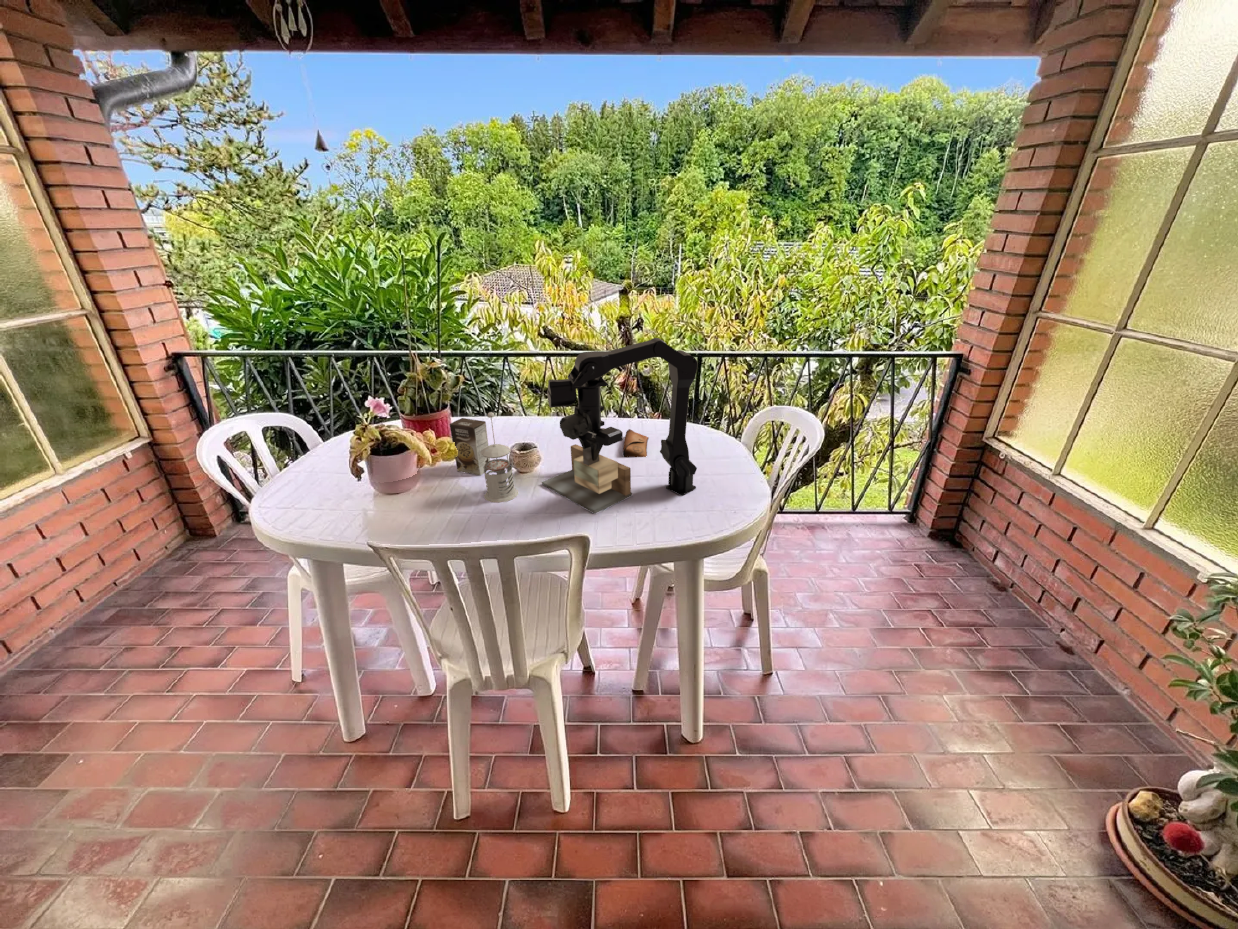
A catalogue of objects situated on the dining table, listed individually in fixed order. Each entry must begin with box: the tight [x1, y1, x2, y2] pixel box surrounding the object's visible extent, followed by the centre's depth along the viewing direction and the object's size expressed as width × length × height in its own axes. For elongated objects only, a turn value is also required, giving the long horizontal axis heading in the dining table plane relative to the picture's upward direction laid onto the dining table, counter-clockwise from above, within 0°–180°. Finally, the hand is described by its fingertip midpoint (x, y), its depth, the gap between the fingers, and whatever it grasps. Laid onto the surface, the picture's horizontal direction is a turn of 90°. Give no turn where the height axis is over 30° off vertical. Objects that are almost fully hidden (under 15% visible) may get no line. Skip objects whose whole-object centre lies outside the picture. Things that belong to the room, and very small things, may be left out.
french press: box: [481, 411, 519, 504], centre depth 145 cm, size 10×12×25 cm
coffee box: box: [449, 417, 491, 476], centre depth 162 cm, size 9×6×16 cm
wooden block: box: [574, 447, 619, 494], centre depth 141 cm, size 10×7×11 cm
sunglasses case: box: [622, 429, 649, 458], centre depth 179 cm, size 18×7×7 cm
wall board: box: [541, 444, 633, 515], centre depth 149 cm, size 24×14×9 cm, turn 43°
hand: (591, 458), depth 139 cm, fingers closed on wooden block
